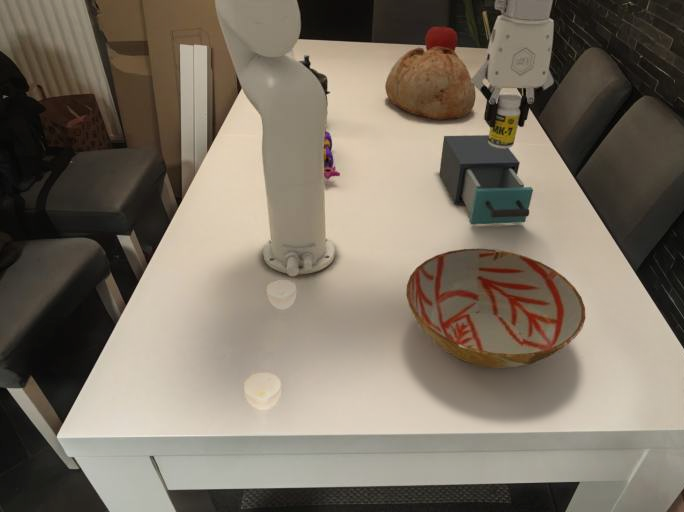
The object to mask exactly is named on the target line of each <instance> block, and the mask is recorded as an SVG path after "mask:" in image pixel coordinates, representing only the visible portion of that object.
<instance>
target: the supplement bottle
mask: <svg viewBox="0 0 684 512" xmlns="http://www.w3.org/2000/svg"><path fill="white" fill-rule="evenodd" d="M521 98H522V96H519V95H518V94H514V93H510V92H507V93H505V92H504V93H499V96H498V98H497V101H496V103H497V104H498V110H497V115H496V120H495V126H494V127H489V132H488V135H489V137H488V143H489V144H490V145H491V146H493V147H496V148H509V149H510V148H512V147H513V146H514V144H515V139H516V135H517V130H518V127H519V126H518V122H519V117H520V109H519V107H520V102H521Z"/></svg>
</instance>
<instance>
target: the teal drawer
mask: <svg viewBox="0 0 684 512" xmlns="http://www.w3.org/2000/svg"><path fill="white" fill-rule="evenodd" d="M533 192H534V189H533V188H532V186H525V184H524V183H523V181H522V180H521V179H520V177H519V175H518V174H517V175H516V173H515V172H514V171H513V169H512V168H511V167H478V168H464V174H463V180H462V186H461V193H460V195H461V197H462V199H463V201H464V203H465V204H464V205H465V207H466V208H467V210H468V212H469V214H470V216H469V223H470V225H487V224H508V223H509V224H510V223H511V224H513V223H525V222H526V220H527V217H529V216H530V209H529V208H530V204H531V200H532V196H533Z"/></svg>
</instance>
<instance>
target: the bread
mask: <svg viewBox="0 0 684 512" xmlns="http://www.w3.org/2000/svg"><path fill="white" fill-rule="evenodd" d="M471 79H472V77H471V74H470V72H469V70H468V68H467V66H466V65H465V63H464V61H463V60H462V59H461V58H460V57H459V56H458V55H457V53H456V50H455V51H453V50H451V49H448V48H443V47H440V46H436V47H433V48H431V49H429V50H427V49H426V50H424V48H423V47H416V48H413V49H411V50H409V51H407V52H405V53H404V54H403V55H402V56H401V57H399V59H397V61H396V62H395V63H394V65H393V66H392V67H391V68H390V71H389V74H388V75H387V78H386V80H385V85H384V87H385V93H386V95H387V99H389V101H390V102H391V103H392V104H394V105H395V106H397V107H398V108H401V109H402V110H403V111H405V112H407V113H410V114H412V115H416V116H420V117H425V118H427V119H428V118H429V119H431V120H440V121H443V120H454V119H458V118H462V117H463V116H466V115H468V114H469V113H471V111H472V110H473V108H474V107H475V103H476V87H475V86H474V85H473V84H472V82H471Z"/></svg>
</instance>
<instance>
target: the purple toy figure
mask: <svg viewBox="0 0 684 512" xmlns="http://www.w3.org/2000/svg"><path fill="white" fill-rule="evenodd" d="M332 139H333V138H332V136H331V133H330V132H329V131H326V130H325V135H324V178H326V180H330V178H332V177H340V176H341V172H339V171H337V170H336V166H334V155H333V153H332V149H333V140H332Z"/></svg>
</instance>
